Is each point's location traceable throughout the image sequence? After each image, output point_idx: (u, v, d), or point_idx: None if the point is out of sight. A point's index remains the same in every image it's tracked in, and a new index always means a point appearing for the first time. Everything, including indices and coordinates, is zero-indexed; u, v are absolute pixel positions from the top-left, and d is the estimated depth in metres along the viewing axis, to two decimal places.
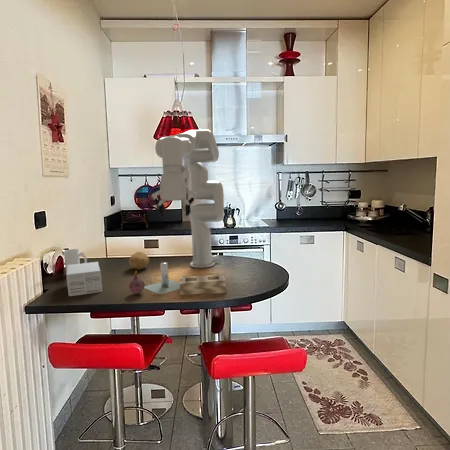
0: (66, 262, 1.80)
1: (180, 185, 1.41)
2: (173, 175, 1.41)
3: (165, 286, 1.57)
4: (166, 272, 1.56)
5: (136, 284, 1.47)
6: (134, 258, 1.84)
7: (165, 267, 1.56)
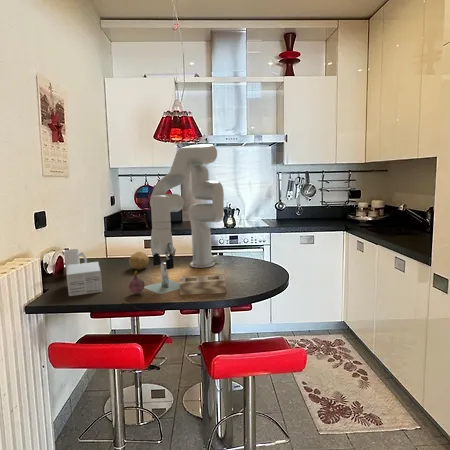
0: (66, 262, 1.80)
1: None
2: None
3: (165, 286, 1.57)
4: (166, 272, 1.56)
5: (136, 284, 1.47)
6: (134, 258, 1.84)
7: (165, 267, 1.56)
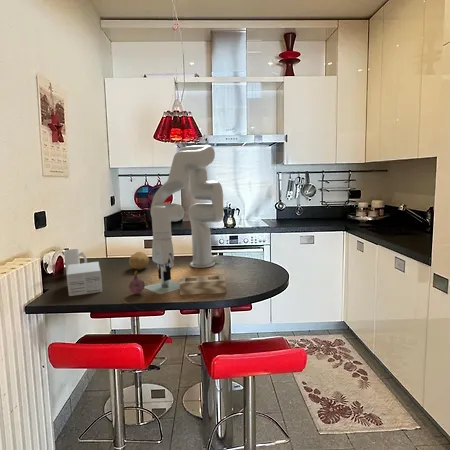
0: (66, 262, 1.80)
1: None
2: None
3: (165, 286, 1.57)
4: None
5: (136, 284, 1.47)
6: (134, 258, 1.84)
7: None
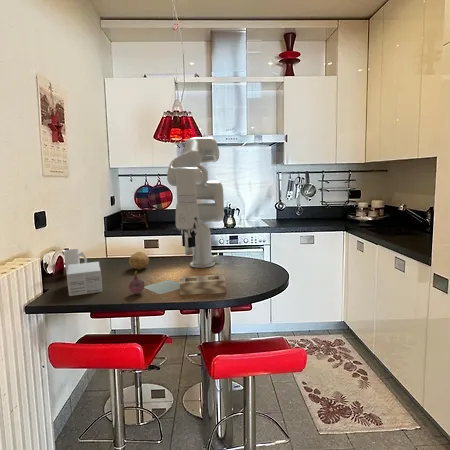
0: (66, 262, 1.80)
1: None
2: None
3: (189, 253, 1.48)
4: None
5: (136, 284, 1.47)
6: (134, 258, 1.84)
7: None
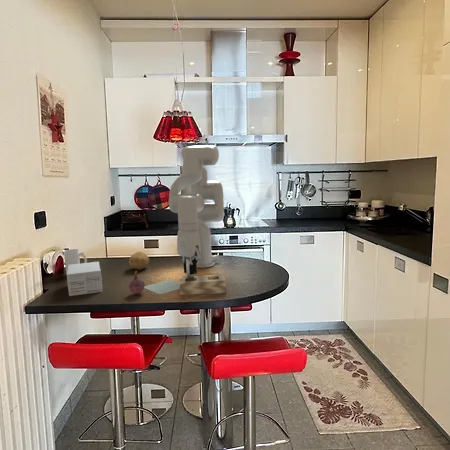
0: (66, 262, 1.80)
1: None
2: None
3: (191, 280, 1.50)
4: None
5: (136, 284, 1.47)
6: (134, 258, 1.84)
7: None
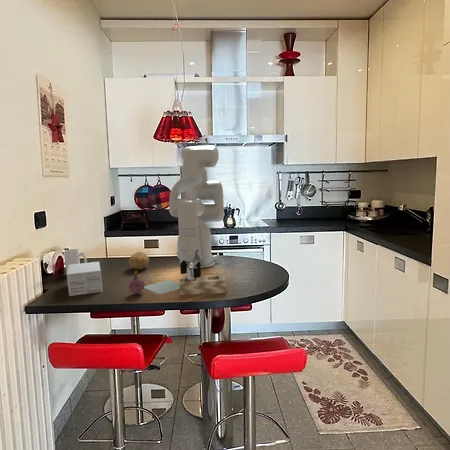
0: (66, 262, 1.80)
1: None
2: None
3: None
4: None
5: (136, 284, 1.47)
6: (134, 258, 1.84)
7: (192, 271, 1.50)
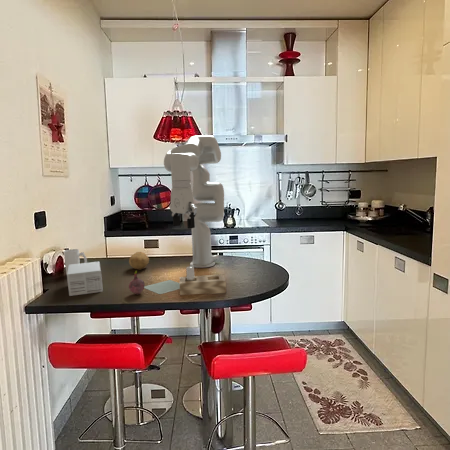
0: (66, 262, 1.80)
1: None
2: None
3: None
4: (192, 276, 1.50)
5: (136, 284, 1.47)
6: (134, 258, 1.84)
7: (191, 271, 1.50)
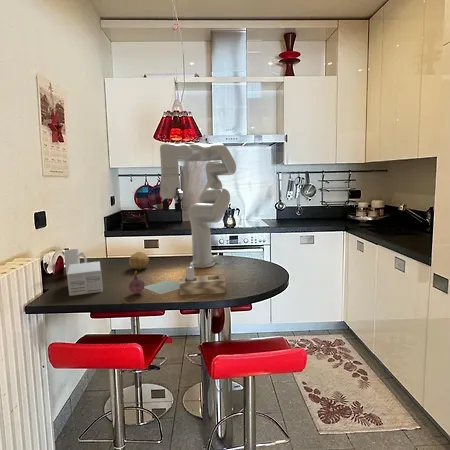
0: (66, 262, 1.80)
1: None
2: None
3: None
4: (192, 276, 1.50)
5: (136, 284, 1.47)
6: (134, 258, 1.84)
7: (192, 271, 1.50)
